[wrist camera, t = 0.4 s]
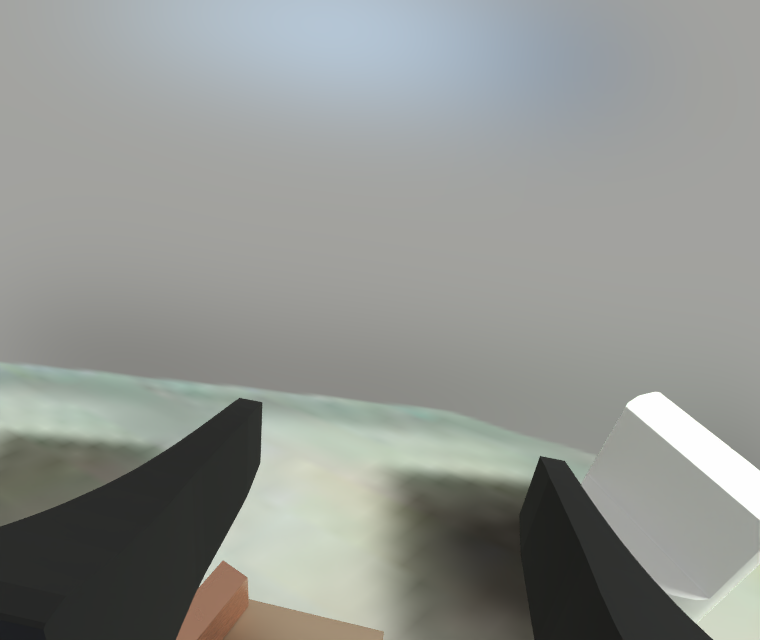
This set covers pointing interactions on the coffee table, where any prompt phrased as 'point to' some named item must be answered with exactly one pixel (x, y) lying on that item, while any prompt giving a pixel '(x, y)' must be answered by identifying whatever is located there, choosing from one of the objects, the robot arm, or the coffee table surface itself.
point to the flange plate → (216, 605)
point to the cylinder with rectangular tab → (678, 502)
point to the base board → (294, 626)
